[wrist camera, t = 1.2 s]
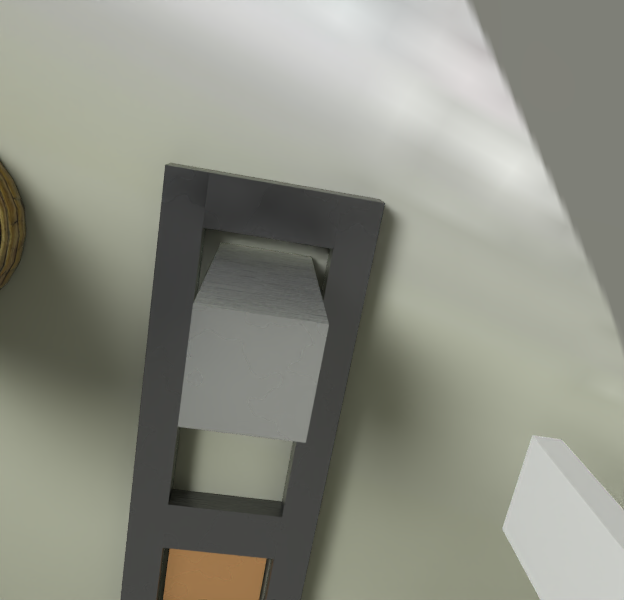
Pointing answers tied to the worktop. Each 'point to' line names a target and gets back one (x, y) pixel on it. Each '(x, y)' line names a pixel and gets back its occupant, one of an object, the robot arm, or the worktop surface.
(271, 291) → the steel peg
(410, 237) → the worktop surface
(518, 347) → the worktop surface
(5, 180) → the wooden mug
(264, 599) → the dark grey slotted board
